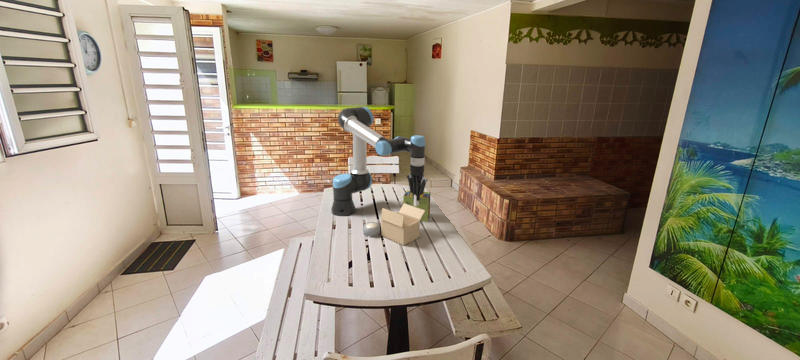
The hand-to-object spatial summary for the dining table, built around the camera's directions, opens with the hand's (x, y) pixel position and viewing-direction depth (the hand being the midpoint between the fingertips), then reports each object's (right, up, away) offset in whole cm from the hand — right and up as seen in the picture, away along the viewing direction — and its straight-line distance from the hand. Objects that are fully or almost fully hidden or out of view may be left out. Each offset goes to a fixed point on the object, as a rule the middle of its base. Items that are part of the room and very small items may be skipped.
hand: (416, 205), depth 190 cm
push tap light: (-25, -15, -1) cm, 29 cm away
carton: (-9, -17, -5) cm, 19 cm away
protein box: (+1, -9, +20) cm, 22 cm away
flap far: (-3, -3, -2) cm, 5 cm away
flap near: (-13, -5, -13) cm, 19 cm away
